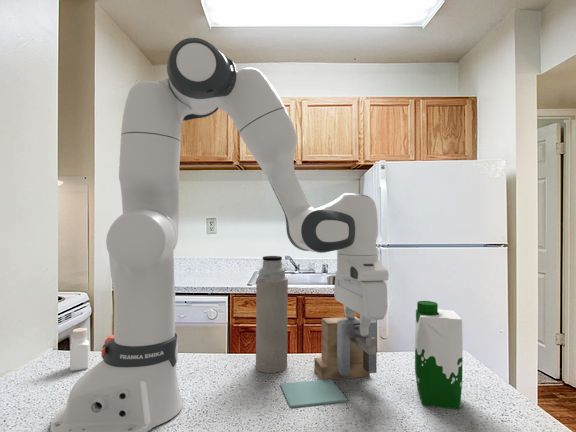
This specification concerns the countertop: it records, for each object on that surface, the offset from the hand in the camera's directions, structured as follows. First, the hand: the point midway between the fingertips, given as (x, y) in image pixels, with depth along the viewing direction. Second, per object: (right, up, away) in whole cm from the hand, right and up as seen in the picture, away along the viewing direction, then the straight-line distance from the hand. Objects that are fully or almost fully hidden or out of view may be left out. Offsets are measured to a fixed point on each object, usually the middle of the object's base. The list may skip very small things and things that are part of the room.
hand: (356, 329), depth 81 cm
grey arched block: (0, -9, 0) cm, 9 cm away
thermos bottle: (-19, -13, +12) cm, 27 cm away
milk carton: (+16, -13, -4) cm, 21 cm away
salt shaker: (-67, -13, +11) cm, 69 cm away
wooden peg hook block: (-1, -13, +2) cm, 13 cm away
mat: (-10, -13, -2) cm, 16 cm away
